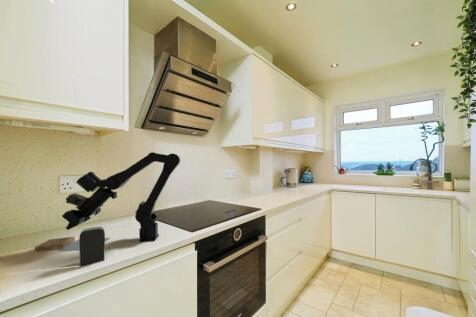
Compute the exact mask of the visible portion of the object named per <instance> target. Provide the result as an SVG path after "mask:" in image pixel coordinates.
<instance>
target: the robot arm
mask: <svg viewBox="0 0 476 317" xmlns="http://www.w3.org/2000/svg"><path fill="white" fill-rule="evenodd" d="M155 162H156V163H160V164H161V163H162V164H163V166H162V170H161V173H160V174H159V176H158V178H157V180H156V182H155V184H154V186H153V187H152V189H151V192H150V194H149V195H148V196H147V199H146V201H144V200H143V201H141V202H140V203H139V205H138V206H137V207H138V208H137V209H136V211H134V213H135V215H134V218H135V220H136V221H137V223H138V224H139V225H140V228H139V231H138V232H139V233H138V234H139V240H138V241H139V242H151V241H152V242H153V241H156V240H157V239H158V237H159V236H160V234H159V230H158V228H159V222H157V221H158V219H159V216H158V215H157V214H156V213H154V211H155V207H156V204H157V201H158V199H159V197H160V195H161V193H162V191H163V189H164V188H165V187H166V184H167V182H168V180H169V178H170V176H171V174H173V172H174V171H175V170H176V169H177V167H178V166H179V164H180V163H181V157H180V156H179V155H178V154H177V153H169V154H168V155H167V154H162V153H157V152H149V153H148V154H147V155H146V156H144V157H142V158H141V159H140V160H138V161H137V162H135V163H134V164H132V165H131V166H129V167H128V168H126V169H124V170H122V171H120V172H118V173H117V172H116V173H114V174H112V175H110V176H108V177H107V178H104V179H101V178H100V177H98V176H97V175H96V173H95V172H93V171H89V172H87V173H86V174H84V175H82V176H80V177H79V178H78V179H77V181H76V184H77V185H78V186H79V187H80V188H82V189H84V191H85V192H87V193H90V192H91V193H92V194H91V195H90V196H89V197H86V196H85V195H81V194H79V193H75V192H74V193H70V194H68V196H66V198H65V203H66V204H69V205H73V206H76V207H75V208H76V209H69V210H67V211H65V212H64V213H63V214H62V215H61V217H62V218H63V219H64V220H66V221H67V222H68V224H67V225H66V227H65V229H66V230H67V231H69V230H71V229H73V228H75V227H77V226H80V225H81V224H83V223H85V222H86V221H89V220H90V219H91V216H95V217H96V216H97V215H99V214H100V213H101V211H102V210H101V209H102V207H103V206H104V204H105V203H106V202H107V201H108V200H109V199H112V200H115V199H116V198H118V191H115V190H117V189H118V190H119V189H121V188H123V187H124V186H125V185H126V184H127V183H128V182H129V181H130V180H131V179H132V177H134V176H135V175H137V174H138V173H140V172H141V171H143V170H144V169H146V168H147V167H149V166H150V165H151V164H154V163H155Z"/></svg>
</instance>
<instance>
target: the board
mask: <svg viewBox="0 0 476 317" xmlns="http://www.w3.org/2000/svg"><path fill="white" fill-rule="evenodd" d="M75 237H76V236H68V237H60V238H58V237H57V238H51V239H48V240H46V241H44V242H42V243H40V244H39V245H37V246H35V247H34V251H35V252H42V251H53V250H61V249H63V248H65V247H66V246H68V245H69V244H71V243H73V242H75V241H76V239H75Z"/></svg>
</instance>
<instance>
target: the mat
mask: <svg viewBox="0 0 476 317" xmlns="http://www.w3.org/2000/svg"><path fill="white" fill-rule="evenodd" d="M110 239H111V237H105V243H106V242H107V241H108V240H110ZM76 251H79V238H78V239H77V240H75V241H74V242H72V243H71V244H69V245H68V246H66V247H65V248H63V249H58V250H57V252H76Z"/></svg>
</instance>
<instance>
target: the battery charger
mask: <svg viewBox="0 0 476 317" xmlns="http://www.w3.org/2000/svg"><path fill="white" fill-rule="evenodd" d="M105 238H106V232H105V229H104V227H103V226H95V227H89V228H84V229H83V230H82V231H81V232H80V233H79V236H78V239H79V267H85V266H89V265H93V264H96V263H102V262H104V261H105V258H106V257H105V249H106V247H105V246H106V242H105Z"/></svg>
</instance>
